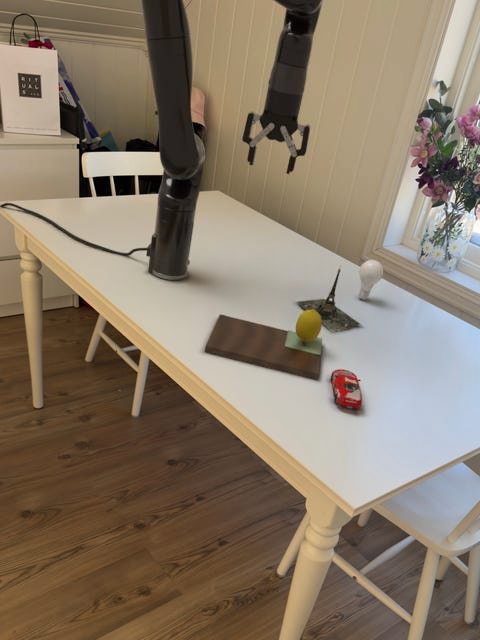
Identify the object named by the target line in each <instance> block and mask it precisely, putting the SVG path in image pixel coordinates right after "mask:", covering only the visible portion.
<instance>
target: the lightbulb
mask: <svg viewBox="0 0 480 640" xmlns="http://www.w3.org/2000/svg"><path fill="white" fill-rule="evenodd" d="M384 271H385V270H384V267H383V265H382V263H381V262H380V261H378V260H376V259H367V260H365V261H364V262H363V263H362V264H361V265H360V267H359V269H358V276H359V280H360V289H359V292H358V295H357V296H358V298H359V299H360V300H362V301H364V300H368V298H369V297H370V293H371V291H372V290H373V288H374V286H375V285H377V284H378V283H379V282H380V281H381V280H382V279H383V276H384Z"/></svg>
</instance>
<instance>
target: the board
mask: <svg viewBox="0 0 480 640" xmlns="http://www.w3.org/2000/svg"><path fill="white" fill-rule="evenodd" d="M322 346H323V338H322V337H318V336H317V338H315V339H314V340H312V341H307V342H303V341H302V340H301V339H300V338H299V337H298V336H297V334H296V331H293V330H290V329H288V330H286V329H282V328H277V327H273V326H270V325H265V324H261V323H257V322H253V321H250V320H246V319H241V318H238V317H233V316H229V315H225V314H219V315H218V318H217V320H216V322H215V324H214V327H213V329H212V331H211V333H210V336H209V337H208V340H207V342H206V344H205V347H204V353H207V354H211V355H215V356H219V357H222V358H227V359H231V360H235V361H239V362H242V363H248V364H250V365H255V366H260V367H264V368H267V369H271V370H275V371H279V372H283V373H287V374H291V375H295V376H298V377H299V376H300V377H303V378H308V379H311V380H316V381H317V380H318V377H319V371H320V363H321V355H322V348H323V347H322Z"/></svg>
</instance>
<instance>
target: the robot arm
mask: <svg viewBox="0 0 480 640" xmlns="http://www.w3.org/2000/svg"><path fill="white" fill-rule="evenodd" d="M273 1H274V2H275V3H277V4H278V5H280V6H282V7H283V8H285V14H284V20H283V26H282V29H281V31H280V33H279V36H278V41H277V46H276V51H275V55H274V61H273V64H272V68H271V71H270V74H269V78H268V82H267V84H268V86H267V91H266V96H265V101H264V107H263V112H262V113H261V114H258V113H255V112H254V111H252V110H251V111H250V112H248V114H247V116H246V121H245V125H244V129H243V134H242V143H245V144H247V145H248V154H247V157H246V158H247V162H248V163H249V164H248V165H249V166H253V165H254V163H255V158H256V153H257V147H258V146H257V145H258V144H259V143H260V142H261V141H262V140H263V139H264V138H267V140H269V141H276V142H279V143H284V142H285V144H286V146H287V149H288V151H289V153H290V156H289V159H288V163H287V168H286V172H285V173H286V175H290V174H291V173H293V171H294V170H295V165H296V161H297V158H298V157H303V156H305V155H306V154H307V149H308V144H309V143H308V142H309V139H310V133H311V125H310V124H306V125H305V124H300V123H299V121H298V119H299V115H300V110H301V106H302V101H303V96H304V92H305V88H306V83H307V78H308V77H307V76H308V67H309V63H310V59H311V55H312V50H313V43H314V42H313V41H314V35H315V32H316V28H317V25H318V21H319V18H320V14H321V10H322V6H323V2H324V0H273ZM141 9H142V16H143V25H144V34H145V43H146V51H147V58H148V64H149V71H150V76H151V77H150V78H151V83H152V89H153V95H154V99H155V104H156V110H157V120H158V140H159V142H158V145H159V159H160V164H161V167H162V168H163V172H162V178H161V183H160V186H159V190H158V194H157V205H156V213H155V215H156V216H155V224H154V232H153V234H152V235H151V239H150V244H148V246H147V247H137V248H133V249H131V250H130V251H129V252H120V251H117V250H113V249H111V248H108V247H105V246H102V245H99V244H96V243H92V242H90V241H88V240H85V239H82V238H81V237H78V236H77V235H74V233H71V232H70V231H68V230H67V229H65V228H64V227H62V226H61V225H59V224H57V222H55V221H53V220H52V219H50V218H48V217H46V216H45V215H43V214H40V213H38V212H36V211H34V210H30V209H27V208H25V207H22V206H20V205H18V204H16V203H12V202H5V203H2V204H0V208H4V207H7V206H8V207H9V206H10V207H14V208H15V209H19V210H21V211H23V212H25V213H29V214H32V215H33V216H36V217H38V218H41V219H43V220H45V221H46V222H48V223H49V224H51V225H53V226H54V227H56V228H57V229H59V230H60V231H62V232H63V233H65V234H66V235H68V236H69V237H71V238H73V239H75V240H76V241H79V242H81V243H83V244H85V245H88V246H91V247H94V248H96V249H100V250H103V251H105V252H108V253H111V254H114V255H115V254H116V255H118V256H124V257H127V256H128V257H129V256H131V255H132V254H134V253H136V252H143V251H145V252H146V257H149V260H148V270H147V272H148V273H149V274H153V275H154V276H155V277H157V278H160V279H163V280H169V281H180V280H181V281H182V280H184V279H186V278H187V276H188V269H189V266H190V262H191V261H190V254H191V247H192V240H193V239H192V238H193V232H194V226H195V219H196V211H197V204H198V200H199V196H200V192H201V186H202V181H203V180H202V179H203V173H204V167H205V159H206V150H205V146H204V142H203V140H202V139H201V138H200V136H199V135H197V134H196V133H195V130H194V125H193V116H192V92H193V77H194V76H193V75H194V57H193V56H194V55H193V47H192V46H193V44H192V36H191V27H190V22H189V18H188V13H187V10H186V7H185V3H184V0H141ZM258 121H259V124H260V126H261V129H262V130H261V131H259V133H257V135H256V136H255V137H254V138H252V136H251V133H252V129H253V125H256V124H257V122H258ZM297 130H298V131H299V135H300V136H301V137H302V139H301V144H300V148H297V146H296V144H295V140H294V138H293V134H295V133H296V132H297Z"/></svg>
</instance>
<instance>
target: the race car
mask: <svg viewBox="0 0 480 640" xmlns="http://www.w3.org/2000/svg"><path fill="white" fill-rule="evenodd" d="M361 381H362V379H358V376H357V375H356V374H355V373H354V372H352V371H350V370H347V369H345V368H344V369H343V368H342V369H341V368H338V369H334V370H333V371H332V372H331V375H330V382H331V387H332V393H333V400H334V401H333V402H334V404H335V405H336V406H337V407H338V408H342V409H344V410H345V409H346V410H349V411H360V409H361V407H362V404H363V396H362V392H361V391H362V390H361V388H360V387H361V386H360V383H359V382H361Z"/></svg>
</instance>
